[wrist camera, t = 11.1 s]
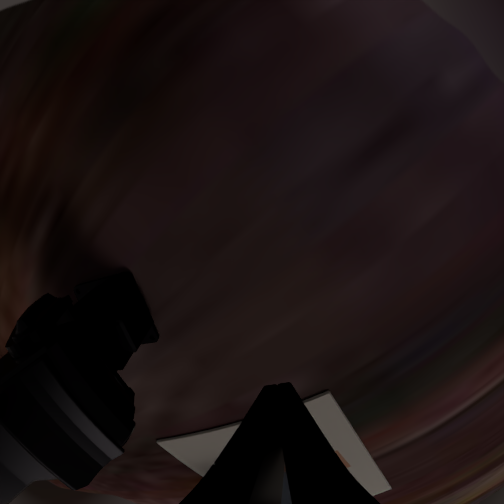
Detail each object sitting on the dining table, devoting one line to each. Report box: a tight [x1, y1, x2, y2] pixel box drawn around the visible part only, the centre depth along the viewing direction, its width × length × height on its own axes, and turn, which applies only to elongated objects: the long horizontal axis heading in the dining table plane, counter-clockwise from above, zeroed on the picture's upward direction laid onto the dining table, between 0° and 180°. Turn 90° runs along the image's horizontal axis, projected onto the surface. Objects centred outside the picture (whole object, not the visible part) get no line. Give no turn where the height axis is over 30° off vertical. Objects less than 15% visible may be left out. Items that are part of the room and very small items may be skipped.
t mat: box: [156, 390, 392, 496], centre depth 31 cm, size 34×22×1 cm, turn 30°
